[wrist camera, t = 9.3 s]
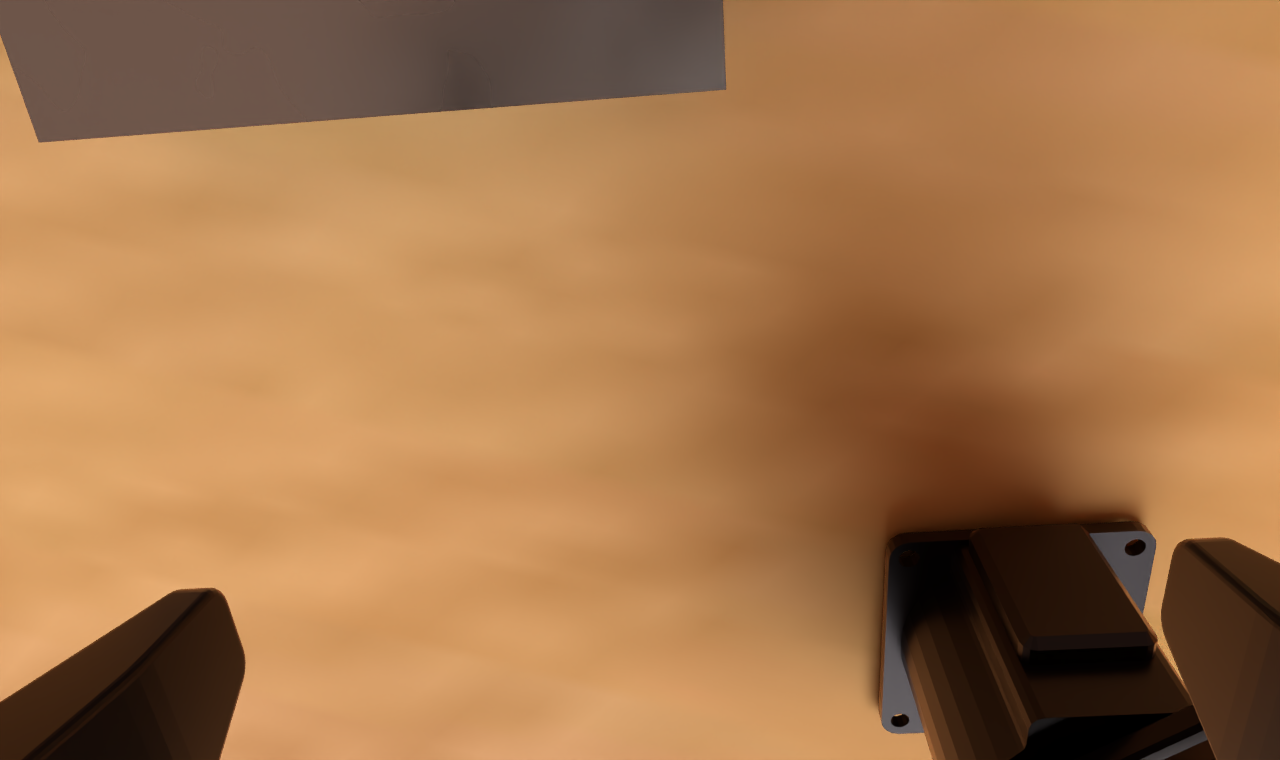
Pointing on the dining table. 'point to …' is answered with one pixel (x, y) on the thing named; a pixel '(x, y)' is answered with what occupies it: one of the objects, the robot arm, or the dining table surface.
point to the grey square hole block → (342, 58)
